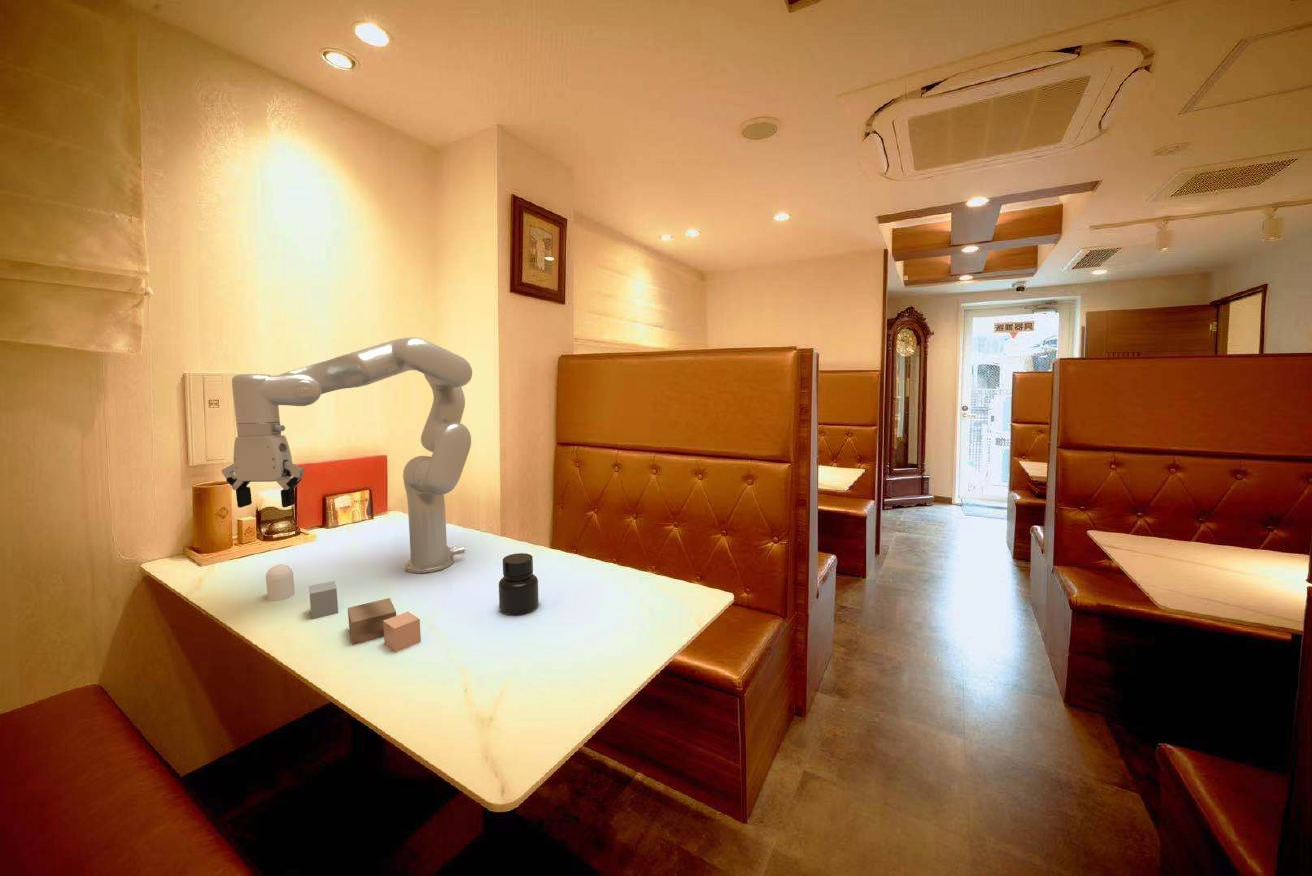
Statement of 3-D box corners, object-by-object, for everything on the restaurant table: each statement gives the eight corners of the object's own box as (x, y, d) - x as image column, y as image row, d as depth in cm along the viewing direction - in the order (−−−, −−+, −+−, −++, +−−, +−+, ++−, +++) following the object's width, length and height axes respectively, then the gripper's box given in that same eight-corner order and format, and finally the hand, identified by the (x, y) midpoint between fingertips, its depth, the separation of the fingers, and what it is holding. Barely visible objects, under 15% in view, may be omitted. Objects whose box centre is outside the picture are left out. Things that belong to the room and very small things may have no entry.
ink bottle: (523, 594, 122) (521, 548, 121) (547, 604, 117) (546, 556, 116) (490, 609, 114) (488, 560, 113) (514, 620, 109) (513, 569, 108)
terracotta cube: (409, 634, 104) (408, 611, 103) (420, 642, 101) (419, 618, 100) (384, 644, 100) (382, 620, 99) (395, 652, 97) (394, 628, 96)
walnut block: (391, 619, 110) (389, 597, 110) (397, 634, 104) (396, 611, 103) (349, 629, 105) (347, 607, 105) (353, 646, 99) (351, 622, 98)
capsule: (280, 601, 118) (277, 570, 117) (262, 599, 119) (258, 568, 118) (300, 592, 123) (297, 561, 122) (282, 590, 124) (279, 560, 123)
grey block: (336, 605, 116) (334, 581, 116) (338, 613, 112) (336, 588, 112) (310, 611, 113) (308, 586, 113) (311, 619, 109) (309, 594, 109)
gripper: (310, 428, 112) (316, 501, 114) (233, 428, 112) (241, 501, 114) (286, 432, 105) (294, 510, 107) (204, 432, 104) (213, 510, 106)
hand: (266, 505), depth 110 cm, fingers open, 9 cm apart
